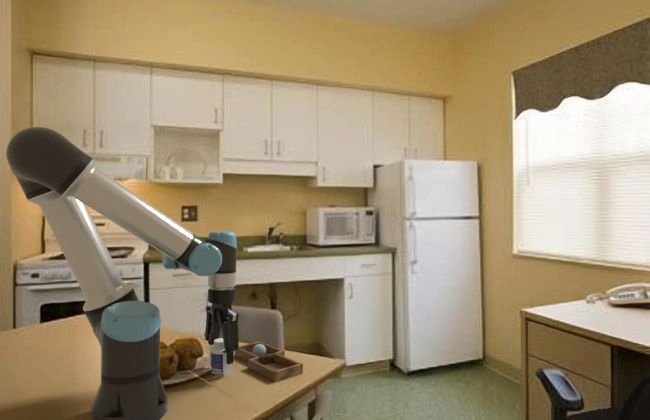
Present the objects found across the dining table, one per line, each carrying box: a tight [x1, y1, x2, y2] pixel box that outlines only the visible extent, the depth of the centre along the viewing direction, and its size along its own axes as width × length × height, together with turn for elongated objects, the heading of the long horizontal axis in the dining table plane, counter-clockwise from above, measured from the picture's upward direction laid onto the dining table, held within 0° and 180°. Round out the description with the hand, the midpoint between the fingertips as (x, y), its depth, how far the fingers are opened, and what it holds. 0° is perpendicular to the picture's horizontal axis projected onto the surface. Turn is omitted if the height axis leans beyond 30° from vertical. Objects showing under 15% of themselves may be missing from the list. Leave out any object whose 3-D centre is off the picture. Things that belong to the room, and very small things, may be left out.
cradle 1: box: [234, 341, 286, 365], centre depth 130 cm, size 9×13×3 cm
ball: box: [253, 344, 266, 357], centre depth 130 cm, size 4×4×4 cm
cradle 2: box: [247, 353, 304, 383], centre depth 120 cm, size 9×13×3 cm
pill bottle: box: [210, 337, 225, 375], centre depth 119 cm, size 5×5×9 cm
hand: (220, 371), depth 119 cm, fingers open, 7 cm apart
